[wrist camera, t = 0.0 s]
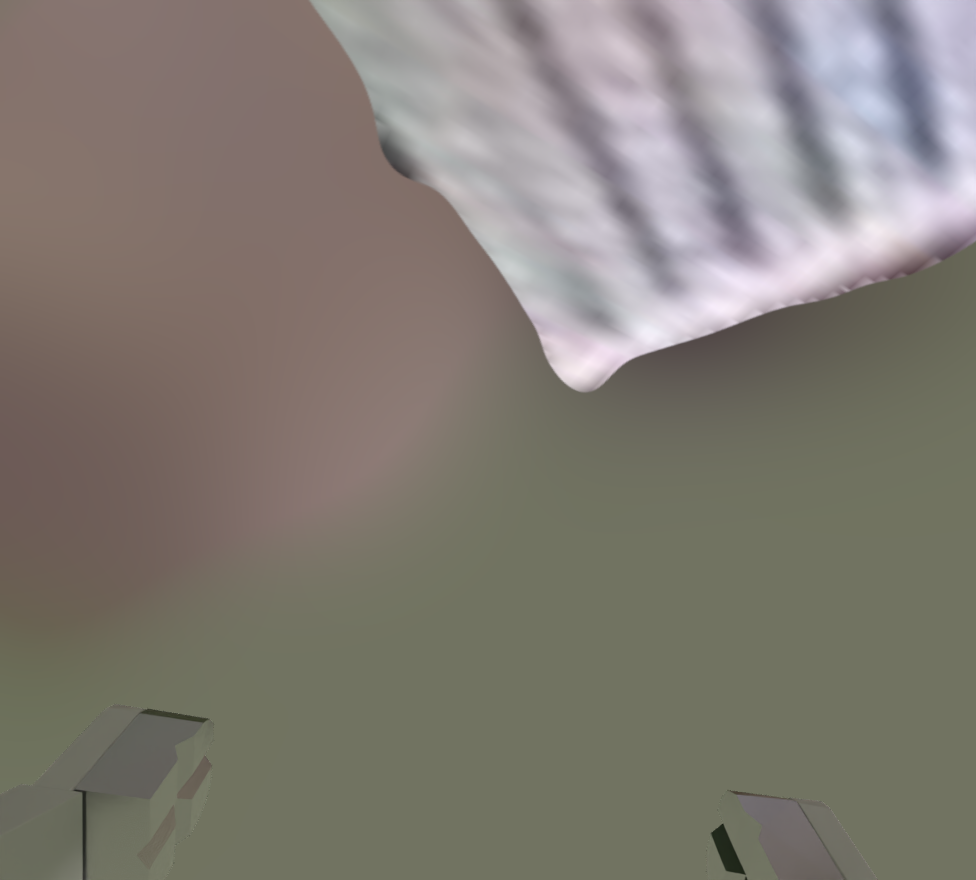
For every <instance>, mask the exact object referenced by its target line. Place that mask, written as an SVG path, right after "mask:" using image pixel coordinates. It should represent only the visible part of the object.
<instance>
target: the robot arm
mask: <svg viewBox="0 0 976 880" xmlns="http://www.w3.org/2000/svg"><path fill="white" fill-rule="evenodd" d="M213 739H214V723H213V722H212V721H211V720H210V719H208V718H202V717H196V716H190V715H183V714H178V713H172V712H165V711H159V710H153V709H143V708H137V707H131V706H125V705H119V704H114V705H112V706H110V707H108V708H106V709H104V710H103V711H102V712H101V713H100V715H99V716H98V717H97V718H96V719H95V720H94V721H93V722H92V723H91V724H90V725H89V726H88V727H87V728H86V729H85V730H84V731H83V732H82V733H81V734H80V735H79V737H77V739H76V740H75V741H74V742H73V743H72V744H71V745H70V746H69V747H68V748H67V749H66V750H65V751H64V752H63V753H62V754H61V755H60V756H59V757H58V758H57V759H56V760H55V762H54V763H53V764H52V765H51V766H50V767H49V768H48V769H47V770H46V771H45V772H44V773H43V774H42V775H41V776H40V777H39V778H38V779H37V780H36V781H35V782H34V783H33V785H23V784H21V785H18V786H16V787H14V788H12V789H10V790H8V791H5V792H3V793H2V794H0V880H165V878H166V877H167V875H168V873H169V871H170V870H171V868H172V866H173V864H174V852H175V845H176V844H177V843H179V842H180V841H182V840H184V839H185V838H187V837H188V836H190V834H191V833H192V831H193V829H194V827H195V825H196V823H197V822H198V820H199V818H200V815H201V813H202V810H203V807H204V804H205V802H206V799H207V797H208V792H209V788H210V783H211V775H212V765H211V763H210V762H209V760H208V759H207V757H206V756H205V754H206V752H207V751H208V749H209V747H210V746H211V744H212V742H213ZM718 812H719V815H720V817H721V819H722V822H723V824H721V825H720V826H719V827H718V828H716V829H715V830H714V831H713V832H711V834H710V838H709V842H708V846H707V850H706V872H707V877H708V880H878V879H877V878H876V876H875V875H874V873H873V872H872V870H871V869H870V868H869V866H868V864H867V863H866V862H865V860H864V858H863V857H862V855H861V854H860V852H859V851H858V850H857V848H856V847H855V845H854V843H853V842H852V840H851V839H850V837H849V836H848V834H847V833H846V831H845V830H844V828H843V827H842V825H841V824H840V822H839V821H838V819H837V818H836V817H835V815H834V814H833V812H832V811H831V809H830V808H829V807H828V806H827V805H825V804H824V803H823V802H822V801H815V800H806V799H797V798H785V797H777V796H769V795H762V794H753V793H746V792H738V791H731V790H727V791H726V792H725V794H724V795H723V796H722V797H721V800H720V804H719V807H718Z"/></svg>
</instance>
